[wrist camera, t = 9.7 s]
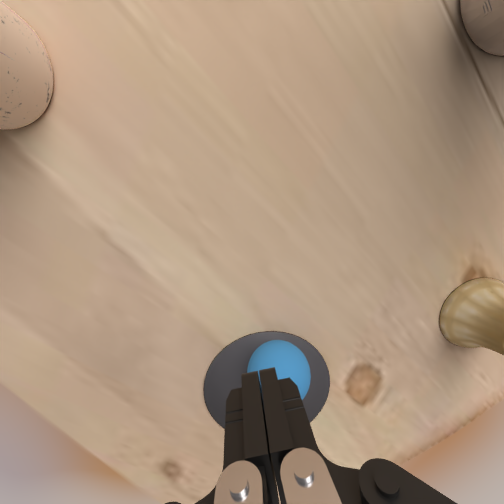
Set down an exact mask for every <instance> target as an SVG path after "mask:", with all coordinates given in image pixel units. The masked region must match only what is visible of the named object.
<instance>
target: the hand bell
mask: <svg viewBox="0 0 504 504" xmlns="http://www.w3.org/2000/svg"><path fill="white" fill-rule="evenodd" d="M439 320H440V321H439V323H440V329H441V331H442V333H443V335H444V336H445V338H446V339H447V340H448V341H450V342H451V343H453V344H455V345H457V346H461V347H467V348H476V347H485V348H488V349H491V350H493V351H496V352H498V353H500V354H502V355H504V283H502V282H501V281H499V280H496V279H493V278H478V279H474V280H470V281H468V282H466V283H464V284H462V285H461V286H459V287H458V288H457V289H455V290H454V291H453V292H452V293H451V294H450V295H449V297H448V298H447V299H446V301H445V303H444V304H443V307H442V309H441V312H440V319H439Z"/></svg>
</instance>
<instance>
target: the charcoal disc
mask: <svg viewBox="0 0 504 504" xmlns="http://www.w3.org/2000/svg"><path fill="white" fill-rule="evenodd" d="M271 340H284V341H287V342H290V343H292V344H293V345H295V346H296V347H298V348H299V349H300V350H301V351H302V353H303V354H304V356H305V357H306V359H307V361H308V364H309V367H310V373H311V380H310V386H309V389H308V392H307V394H306V396H305V397H304V399H303V400H302V402H303V405H304V408H305V411H306V414H307V417H308V420H309V423H310V422H311V421H312V420H313V419H314V418H315V417H316V416H317V415H318V413H319V412H320V411H321V409H322V407H323V406H324V404H325V402H326V399H327V397H328V393H329V387H330V376H329V371H328V368H327V365H326V363H325V361H324V359H323V357H322V355H321V354H320V353H319V352H318V350H317V349H316V348H315V347H314V346H312V345H311V344H310V343H309V342H307V341H306V340H304V339H302V338H300V337H298V336H295V335H292V334H289V333H284V332H277V331H265V332H258V333H254V334H250V335H247V336H244V337H242V338H239V339H238V340H236V341H234V342H232V343H231V344H229V345H228V346H226V347H225V348H224V349H223V350H222V351H221V352H220V353H219V354H218V355H217V356H216V357H215V359H214V360H213V362H212V363H211V365H210V367H209V369H208V371H207V374H206V378H205V383H204V398H205V403H206V405H207V408H208V410H209V412H210V414H211V416H212V417H213V418H214V419H215V421H216V422H217V423H218V424H219V425H220V426H222V427H223V428H224V429H225V415H226V400H227V397H228V395H229V393H230V391H231V390H232V389H236V388H241V387H242V380H241V374H244V373H247V368H248V363H249V360H250V358H251V356H252V354H253V353H254V351H255V350H256V349H257V348H258V347H259V346H260V345H262V344H263V343H265V342H268V341H271Z"/></svg>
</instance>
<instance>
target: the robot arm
mask: <svg viewBox="0 0 504 504" xmlns="http://www.w3.org/2000/svg"><path fill="white" fill-rule="evenodd" d="M460 4H461V15H462V19H463V23H464V26H465V28H466V30H467V32H468V35H469V37H470V38H471V39H472V40H473V42H474V43H475V44H476V45H477V46H478V47H480V48H481V49H482V50H484V51H485V52H488V53H491V54H494V55H502V56H504V0H460ZM259 375H260V379H259ZM241 380H242V387H241V388H236V389H232V390H231V391H230V393H229V395H228V397H227V400H226V415H225V439H224V465H223V471H222V473H221V475H220V477H219V479H218V482H217V485H216V486H215V488H214V489H213V490H212V491H211V492H210V493H209V494H208V495H207V496H206V497H204V498H203V499H201V500H200V501H198V502H197V503H195V504H279V498H278V491H279V496H280V501H281V504H457V503H455V502H454V501H452V500H451V499H449V498H448V497H446V496H444V495H443V494H441V493H440V492H438V491H437V490H435V489H433V488H432V487H430V486H429V485H427V484H426V483H424V482H423V481H421V480H420V479H418V478H416V477H415V476H413V475H412V474H410V473H409V472H407V471H406V470H404V469H403V468H401V467H399V466H398V465H396V464H395V463H393V462H391V461H388V460H385V459H379V458H376V459H371V460H368V461H366V462H365V463H364V464H363V465H362V467H361V469H360V470H359V469H352V468H346V467H341V466H338V465H335V464H334V463H332V462H330V461H329V460H327V459H326V458H325V457H324V456H323V455H322V453H321V452H320V450H319V449H318V447H317V444H316V441H315V438H314V435H313V432H312V429H311V426H310V423H309V420H308V417H307V414H306V411H305V408H304V405H303V402H302V399H301V396H300V393H299V389H298V386H297V385H296V384H295V383H294V382H293V381H292V380H291V379H290V377H289V378H284V379H279V380H278V378H277V374H276V370H275V367H272V368H268V369H263V370H259V374H258V371H253V372H249V373H244V374H241ZM260 382H261V384H260ZM276 482H277V484H276ZM277 486H278V491H277ZM165 504H181V503H178V502H168V503H165Z"/></svg>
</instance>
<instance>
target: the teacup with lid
mask: <svg viewBox="0 0 504 504" xmlns="http://www.w3.org/2000/svg"><path fill="white" fill-rule="evenodd" d="M52 92H53V70H52V65H51V62H50V59H49V56H48V53H47V51H46V49H45V47H44V45H43V43H42V41H41V40H40V38H39V37H38V35H37V34H36V33H35V31H34V30H33V29H32V28H31V27H30V25H29V24H28V23H27V22H26V21H25V20H24V19H23V18H21V17H20V16H19V15H18V14H17V13H15V12H14V11H13V10H12V9H11V8H9V7H8V6H7V5H6V4H5V3H3V2H2V1H1V0H0V129H16V128H21V127H24V126H27V125H29V124H31V123H32V122H34V121H35V120H37V119H38V118H39V117H40V116H41V115H42V114H43V112H44V111H45V110H46V108H47V106H48V104H49V102H50V99H51V96H52Z"/></svg>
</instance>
